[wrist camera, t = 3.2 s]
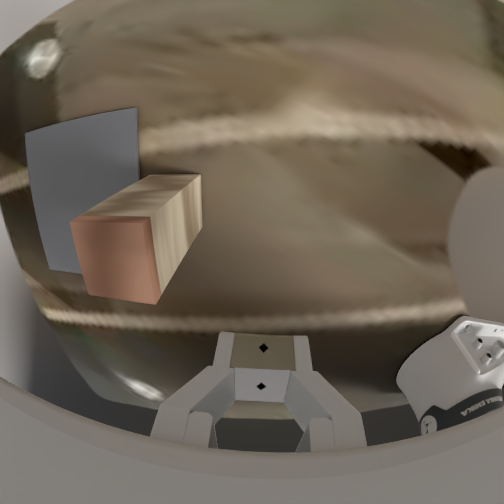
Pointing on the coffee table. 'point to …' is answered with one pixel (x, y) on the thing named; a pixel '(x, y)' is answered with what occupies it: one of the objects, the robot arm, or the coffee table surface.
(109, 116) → the rubber mat
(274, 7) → the coffee table surface
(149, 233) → the birch block
